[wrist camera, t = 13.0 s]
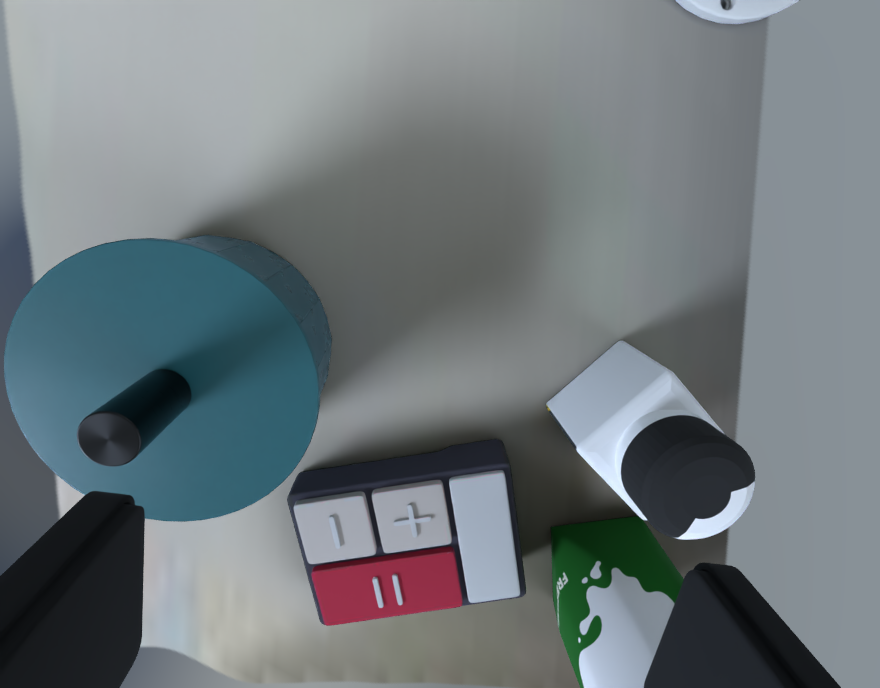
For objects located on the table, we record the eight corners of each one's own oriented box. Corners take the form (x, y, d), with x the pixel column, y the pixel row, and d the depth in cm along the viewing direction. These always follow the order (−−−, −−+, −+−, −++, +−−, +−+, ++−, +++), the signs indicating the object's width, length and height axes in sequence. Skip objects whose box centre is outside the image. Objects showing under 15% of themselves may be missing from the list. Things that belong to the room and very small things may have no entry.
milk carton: (648, 595, 42) (859, 930, 23) (540, 610, 41) (662, 964, 22) (651, 503, 39) (890, 789, 20) (536, 517, 39) (670, 824, 20)
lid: (10, 214, 23) (-126, 219, 17) (336, 261, 25) (315, 281, 19) (27, 496, 27) (-79, 582, 21) (309, 521, 29) (285, 606, 23)
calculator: (281, 502, 33) (512, 467, 33) (297, 467, 37) (502, 437, 37) (318, 636, 36) (529, 605, 36) (329, 590, 40) (518, 563, 40)
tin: (115, 220, 31) (16, 227, 23) (341, 254, 32) (322, 272, 24) (117, 424, 34) (31, 493, 26) (320, 446, 36) (298, 517, 28)
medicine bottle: (542, 403, 36) (608, 498, 25) (620, 336, 36) (726, 403, 24) (602, 466, 38) (689, 581, 27) (677, 404, 37) (801, 496, 26)
